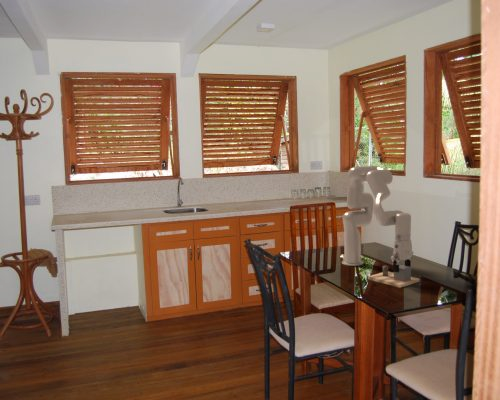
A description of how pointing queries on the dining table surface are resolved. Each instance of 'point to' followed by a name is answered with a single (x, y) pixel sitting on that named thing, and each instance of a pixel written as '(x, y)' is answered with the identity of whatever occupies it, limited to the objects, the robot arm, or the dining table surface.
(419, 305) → the dining table surface
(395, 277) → the gray cube
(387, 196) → the robot arm
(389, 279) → the board
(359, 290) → the dining table surface
